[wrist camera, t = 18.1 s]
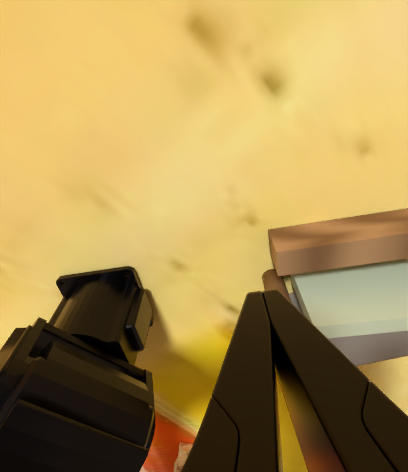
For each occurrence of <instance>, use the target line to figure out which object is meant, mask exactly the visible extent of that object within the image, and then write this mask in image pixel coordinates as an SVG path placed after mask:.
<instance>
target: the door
mask: <svg viewBox="0 0 408 472" xmlns="http://www.w3.org/2000/svg"><path fill="white" fill-rule="evenodd" d="M291 282H292V285H293V288H294V290H295V293H296V295H297V298H298V301H299V303H300V306H301V309H302V311H303V314H304V316H305V317H306V318H307V319H308V320H309V321H310V322H311V323H312V324H313V325H314V326H315V327H316V328H317V329H319V330H320V331H321V332H322V333H323V334H324V335H325V336H326V337H327V338H337V337H347V336H357V335H368V334H378V333H388V332H398V331H408V259H400V260H393V261H386V262H378V263H371V264H364V265H357V266H349V267H342V268H335V269H327V270H320V271H313V272H305V273H298V274H291Z"/></svg>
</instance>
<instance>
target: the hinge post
mask: <svg viewBox="0 0 408 472" xmlns="http://www.w3.org/2000/svg"><path fill="white" fill-rule="evenodd" d="M262 279H263V283H264V287H265V290H272V289H277V290H279V291H280V292H281V293H282V294H283V295H284V296H285V297H286V298H287V299H288V300H289V301H290V302H291V299H290V296H289V294H288V291H287V288H286V285H285V282H284V279H283V276H278V275H277V272H276V269H270V270H268V271H266V272H265V273H264V274H263V276H262ZM291 303H292V302H291Z"/></svg>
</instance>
